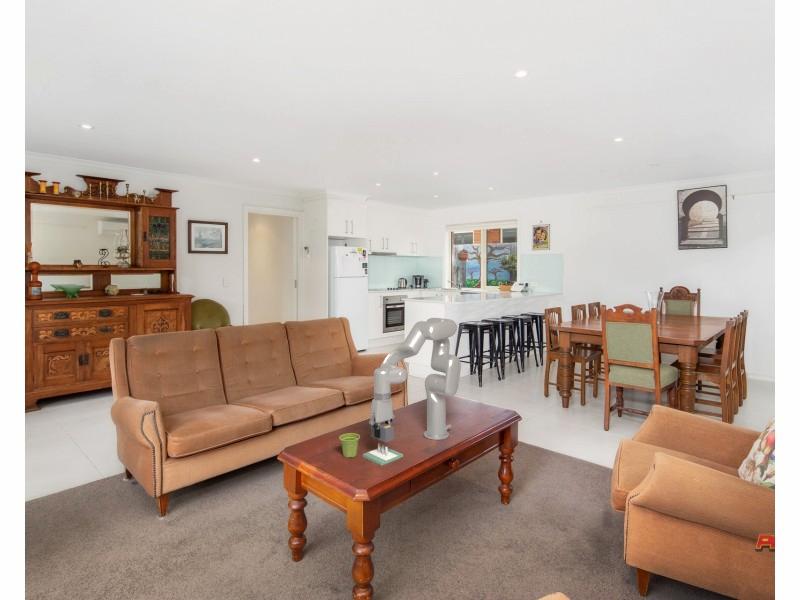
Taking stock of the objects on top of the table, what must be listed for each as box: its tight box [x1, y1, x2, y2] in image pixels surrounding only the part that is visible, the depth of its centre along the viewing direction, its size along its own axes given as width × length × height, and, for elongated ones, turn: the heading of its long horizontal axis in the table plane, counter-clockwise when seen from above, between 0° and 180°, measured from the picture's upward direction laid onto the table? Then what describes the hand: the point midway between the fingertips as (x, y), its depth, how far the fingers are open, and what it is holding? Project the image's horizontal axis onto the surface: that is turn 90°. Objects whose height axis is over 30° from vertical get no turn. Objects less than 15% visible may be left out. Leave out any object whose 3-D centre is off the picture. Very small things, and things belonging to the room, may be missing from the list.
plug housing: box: [370, 422, 395, 443], centre depth 206 cm, size 5×10×6 cm, turn 44°
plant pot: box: [338, 432, 361, 459], centre depth 208 cm, size 9×9×9 cm
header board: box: [362, 442, 404, 467], centre depth 207 cm, size 13×13×5 cm
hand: (382, 435), depth 206 cm, fingers closed on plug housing, 5 cm apart
